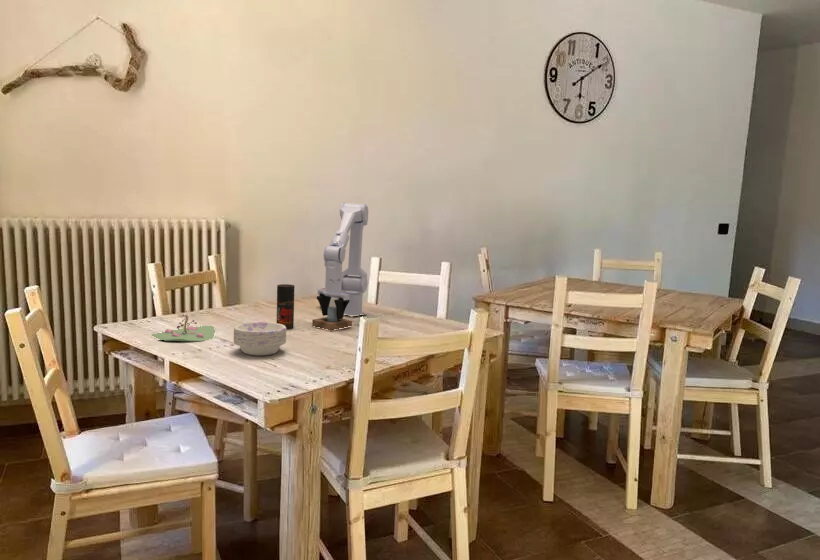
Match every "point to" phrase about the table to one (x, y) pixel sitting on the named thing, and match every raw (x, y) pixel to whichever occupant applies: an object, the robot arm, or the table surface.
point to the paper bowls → (259, 337)
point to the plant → (187, 333)
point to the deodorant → (285, 305)
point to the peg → (332, 314)
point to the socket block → (331, 323)
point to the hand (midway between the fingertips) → (332, 317)
